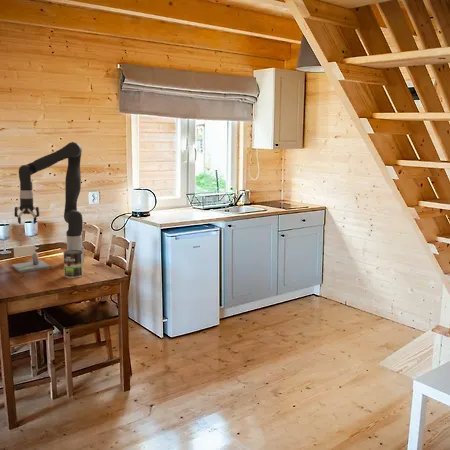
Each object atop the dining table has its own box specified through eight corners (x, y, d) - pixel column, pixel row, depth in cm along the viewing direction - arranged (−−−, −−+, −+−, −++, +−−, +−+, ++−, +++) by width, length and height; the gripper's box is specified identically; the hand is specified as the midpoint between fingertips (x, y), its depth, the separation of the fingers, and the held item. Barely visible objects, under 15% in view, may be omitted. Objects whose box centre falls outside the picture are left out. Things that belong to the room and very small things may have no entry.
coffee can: (77, 278, 287) (76, 254, 285) (61, 277, 290) (59, 253, 287) (86, 273, 297) (85, 250, 295) (70, 272, 300) (69, 249, 297)
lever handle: (37, 262, 316) (36, 244, 314) (39, 263, 313) (38, 245, 311) (14, 265, 308) (13, 246, 306) (15, 267, 305) (14, 247, 303)
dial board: (42, 262, 324) (42, 260, 323) (50, 268, 309) (50, 265, 309) (12, 266, 313) (12, 264, 313) (19, 272, 299) (19, 270, 299)
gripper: (39, 197, 320) (40, 222, 322) (15, 196, 318) (16, 222, 320) (37, 198, 313) (38, 224, 315) (13, 197, 310) (13, 224, 312)
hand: (27, 223), depth 317 cm, fingers open, 8 cm apart
